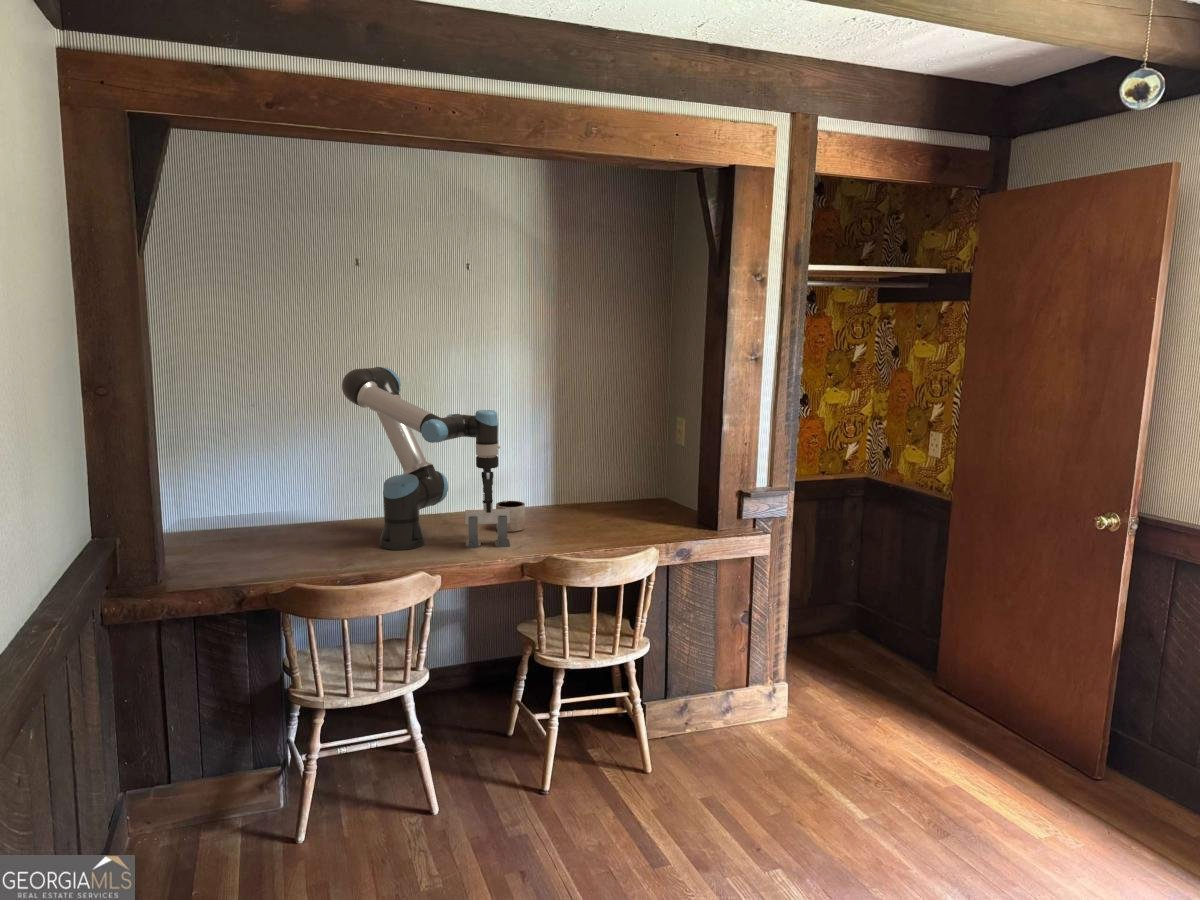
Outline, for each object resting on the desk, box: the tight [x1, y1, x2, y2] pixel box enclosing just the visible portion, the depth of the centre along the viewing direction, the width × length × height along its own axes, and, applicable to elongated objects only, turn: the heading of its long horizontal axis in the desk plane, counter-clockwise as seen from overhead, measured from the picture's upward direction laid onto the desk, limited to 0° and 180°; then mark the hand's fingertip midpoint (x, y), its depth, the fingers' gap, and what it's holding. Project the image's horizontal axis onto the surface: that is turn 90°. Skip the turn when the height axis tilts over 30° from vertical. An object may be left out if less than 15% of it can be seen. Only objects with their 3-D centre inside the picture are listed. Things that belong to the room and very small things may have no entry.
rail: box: [464, 508, 510, 525], centre depth 273 cm, size 15×4×4 cm, turn 100°
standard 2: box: [494, 517, 511, 548], centre depth 274 cm, size 5×7×10 cm
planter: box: [495, 500, 526, 533], centre depth 295 cm, size 11×11×10 cm
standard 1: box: [465, 517, 482, 549], centre depth 273 cm, size 5×7×10 cm
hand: (487, 516), depth 273 cm, fingers open, 13 cm apart
